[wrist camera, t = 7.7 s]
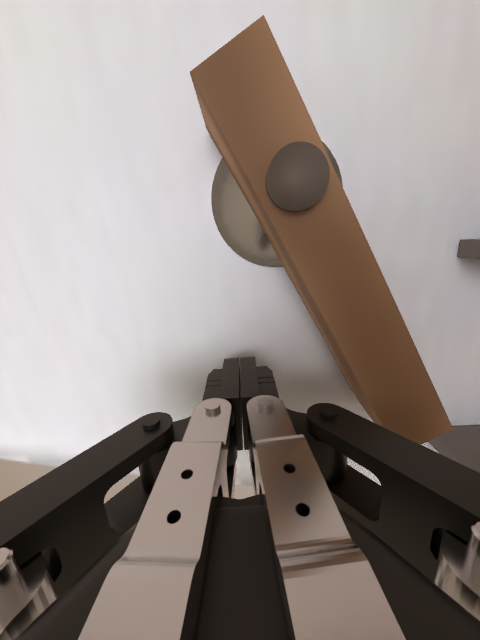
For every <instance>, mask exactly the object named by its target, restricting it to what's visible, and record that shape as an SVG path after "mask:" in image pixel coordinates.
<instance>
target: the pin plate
mask: <svg viewBox="0 0 480 640" xmlns="http://www.w3.org/2000/svg"><path fill="white" fill-rule="evenodd" d="M321 142H322V141H321ZM322 144H323V146H324V148H325V150H326V152H327V155H328V157H329V159H330V161H331V163H332V166H333V168H334V170H335V172H336V174H337V176H338V179H339V181H340V183H341V185H342V178H341V174H340V170H339V167H338V165H337V162H336V160H335V158H334V156H333V155H332V153H331V151H330V150H329V149H328V147H327V146H326V145H325V144H324V143H323V142H322ZM342 187H343V186H342ZM212 210H213V215H214V219H215V222H216V225H217V227H218V230H219V232H220V233H221V235H222V237H223V239H224V240H225V241H226V243H227V244H228V245H229V246H230V247H231V248H232V249H233V250H234V251H235V252H236V253H237V254H239V255H240V256H241V257H243V258H245V259H246V260H248V261H251V262H253V263H256V264H259V265H263V266H272V267H278V266H283V265H282V263H281V261H280V259H279V258H278V256H277V254H276V252H275V250H274V249H273V247H272V245H271V243H270V241H269V240H268V238H267V236H266V234H265V232H264V231H263V229H262V227H261V225H260V223H259V222H258V220H257V218H256V216H255V214H254V213H253V211H252V209H251V207H250V206H249V204H248V202H247V200H246V198H245V197H244V195H243V193H242V191H241V189H240V188H239V186H238V184H237V182H236V180H235V179H234V177H233V175H232V173H231V171H230V170H229V168H228V166H227V164H226V162H225V161H224V159H223V158H222V160H221V162H220V164H219V166H218V168H217V171H216V174H215V177H214V181H213V185H212Z"/></svg>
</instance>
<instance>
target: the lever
mask: <svg viewBox="0 0 480 640" xmlns="http://www.w3.org/2000/svg"><path fill="white" fill-rule="evenodd" d="M190 74H191V78H192V81H193V84H194V88H195V91H196V95H197V98H198V101H199V105H200V108H201V111H202V115H203V118H204V122H205V125H206V128H207V130H208V132H209V134H210V136H211V137H212V139H213V141H214V143H215V145H216V146H217V148H218V150H219V152H220V154H221V155H222V157H223V159H224V161H225V162H226V164H227V166H228V168H229V170H230V171H231V173H232V175H233V177H234V179H235V180H236V182H237V184H238V186H239V188H240V189H241V191H242V193H243V195H244V197H245V198H246V200H247V202H248V204H249V206H250V207H251V209H252V211H253V213H254V214H255V216H256V218H257V220H258V222H259V223H260V225H261V227H262V229H263V231H264V232H265V234H266V236H267V238H268V240H269V241H270V243H271V245H272V247H273V249H274V250H275V252H276V254H277V256H278V258H279V259H280V261H281V263H282V265H283V266H284V268H285V270H286V272H287V274H288V275H289V277H290V279H291V281H292V283H293V284H294V286H295V288H296V290H297V292H298V293H299V295H300V297H301V299H302V301H303V302H304V304H305V306H306V308H307V310H308V311H309V313H310V315H311V317H312V319H313V320H314V322H315V324H316V326H317V327H318V329H319V331H320V333H321V335H322V336H323V338H324V340H325V342H326V344H327V345H328V347H329V349H330V351H331V353H332V354H333V356H334V358H335V360H336V362H337V363H338V365H339V367H340V369H341V371H342V372H343V374H344V376H345V378H346V379H347V381H348V383H349V385H350V387H351V388H352V390H353V392H354V394H355V396H356V397H357V399H358V401H359V402H360V404H361V405H362V406H363V408H364V409H365V410H366V412H367V413H368V414H369V416H370V417H371V418H372V420H373V421H374V423H375V424H377V425H380V426H382V427H384V428H386V429H388V430H390V431H392V432H394V433H397V434H399V435H401V436H403V437H405V438H407V439H409V440H411V441H413V442H416V443H418V444H420V445H421V444H423V443H425V442H427V441H429V440H432V439H434V438H436V437H438V436H440V435H443V434H445V433H447V432H449V431H451V430H453V428H452V425H451V423H450V421H449V419H448V417H447V414H446V412H445V410H444V408H443V406H442V404H441V401H440V399H439V397H438V395H437V393H436V390H435V388H434V386H433V384H432V382H431V380H430V377H429V375H428V373H427V371H426V369H425V366H424V364H423V362H422V360H421V358H420V355H419V353H418V351H417V349H416V347H415V345H414V342H413V340H412V338H411V336H410V334H409V331H408V329H407V327H406V325H405V323H404V321H403V318H402V316H401V314H400V312H399V310H398V307H397V305H396V303H395V301H394V299H393V297H392V294H391V292H390V290H389V288H388V286H387V283H386V281H385V279H384V277H383V275H382V273H381V270H380V268H379V266H378V264H377V262H376V259H375V257H374V255H373V253H372V251H371V249H370V246H369V244H368V242H367V240H366V238H365V235H364V233H363V231H362V229H361V227H360V224H359V222H358V220H357V218H356V216H355V214H354V211H353V209H352V207H351V205H350V203H349V200H348V198H347V196H346V194H345V192H344V190H343V187H342V185H341V183H340V181H339V179H338V176H337V174H336V172H335V170H334V168H333V166H332V163H331V161H330V159H329V157H328V155H327V152H326V150H325V148H324V146H323V144H322V142H321V139H320V137H319V135H318V133H317V131H316V128H315V126H314V124H313V122H312V120H311V117H310V115H309V113H308V111H307V109H306V107H305V104H304V102H303V100H302V98H301V96H300V93H299V91H298V89H297V87H296V85H295V83H294V80H293V78H292V76H291V74H290V72H289V69H288V67H287V65H286V63H285V61H284V59H283V56H282V54H281V52H280V50H279V48H278V45H277V43H276V41H275V39H274V37H273V35H272V32H271V30H270V28H269V26H268V24H267V21H266V19H265V17H264V15H263V16H262V17H260V18H259V19H258V20H256V21H255V22H254V23H253V24H251V25H250V26H249V27H247V28H246V29H245V30H244V31H242V32H241V33H240V34H238V35H237V36H236V37H234V38H233V39H232V40H231V41H229V42H228V43H227V44H225V45H224V46H223V47H222V48H220V49H219V50H218V51H216V52H215V53H214V54H212V55H211V56H210V57H209V58H207V59H206V60H205V61H203V62H202V63H201V64H200V65H198V66H197V67H196V68H194V69H193V70H192V71H190Z"/></svg>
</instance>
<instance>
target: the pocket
mask: <svg viewBox="0 0 480 640" xmlns="http://www.w3.org/2000/svg"><path fill="white" fill-rule="evenodd" d="M457 257H468V258H480V239H466V240H460V245H459V251H458V256H457ZM452 428H453V430H451V431H449V432H447V433H445V434H443V435H440V436H438V437H436V438H434V439H432V440H429V441H428V442H429V443H430V444H431V445H432V446H433V447H434V448H435V449H436V450H437V451H438V452H439V453H440V454H441V455H443V456H445V457H447V458H449V459H451V460H454V461H456V462H458V463H460V464H462V465H464V466H466V467H468V468H470V469H473V470H475V471H477V472H479V473H480V425H474V426H452Z"/></svg>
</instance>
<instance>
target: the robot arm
mask: <svg viewBox="0 0 480 640" xmlns="http://www.w3.org/2000/svg"><path fill="white" fill-rule="evenodd" d="M240 379H241V381H240ZM242 421H243V435H244V449H245V450H249V453H250V468H251V475H252V481H253V488H254V494H255V496H252V497H248V498H245V499H233V498H234V487H235V478H236V460H237V450H243V436H242ZM347 457H348V458H350V459H351V460H353V461H355V462H356V463H358V464H359V465H361V466H363V467H364V468H366V469H368V470H369V471H371V472H372V473H373V474H374V475H375V476H376V477H377V478H378V479H379V481H380V483H381V486H380V485H379V484H377V483H375V482H374V481H372V480H371V479H369V478H368V477H366V476H364V475H363V474H361V473H360V472H358V471H357V470H355V469H354V468H352V467H350V466H349V465H347ZM138 466H139V471H140V476H139V477H138V478H137V479H135V480H134V481H133V482H132V483H130V484H129V485H128V486H127V487H125V488H124V489H123V490H121V491H120V492H119V493H118V494H116V495H115V496H114V497H112V498H111V499H110V500H109V501H107V502H106V503H105V504H104V497H105V495H106V493H107V491H108V490H109V489H110V488H111V487H112V486H113V485H114V484H115V483H116V482H118V481H119V480H120V479H122V478H123V477H125V476H126V475H127V474H129V473H130V472H131V471H133V470H134V469H135V468H137V467H138ZM0 640H480V473H479V472H477V471H475V470H473V469H470V468H468V467H466V466H464V465H462V464H460V463H458V462H456V461H454V460H451V459H449V458H447V457H445V456H443V455H441V454H439V453H437V452H435V451H432V450H430V449H428V448H426V447H424V446H422V445H420V444H418V443H416V442H413V441H411V440H409V439H407V438H405V437H403V436H401V435H399V434H397V433H394V432H392V431H390V430H388V429H386V428H384V427H382V426H380V425H377V424H375V423H373V422H371V421H369V420H367V419H365V418H363V417H361V416H358V415H356V414H354V413H352V412H350V411H348V410H346V409H344V408H342V407H339V406H337V405H334V404H330V403H319V404H315V405H312V406H311V407H310V408H309V409H308V411H307V414H305V413H299V412H294V411H291V410H289V409H287V408H285V405H284V403H283V402H282V400H280V399H279V396H278V392H277V388H276V384H275V381H274V378H273V373H272V371H271V370H270V369H269V368H268V367H267V366H260V367H256V362H255V357H246V358H240V366H239V358H230V359H224V364H223V369H214V370H213V371H212V372H211V373H210V374H209V375H208V378H207V383H206V387H205V392H204V396H203V401H202V402H200V403H199V404H198V405H197V406H196V407H195V409H194V411H193V414H192V416H191V417H188V418H186V419H183V420H179V421H175V422H173V421H172V417H171V416H170V415H169V414H167V413H162V412H156V413H151V414H147V415H145V416H143V417H141V418H139V419H137V420H136V421H134V422H132V423H131V424H129V425H127V426H126V427H124V428H122V429H121V430H119V431H117V432H116V433H114V434H112V435H111V436H109V437H107V438H106V439H104V440H102V441H101V442H99V443H97V444H96V445H94V446H92V447H91V448H89V449H87V450H86V451H84V452H82V453H81V454H79V455H77V456H76V457H74V458H72V459H71V460H69V461H67V462H66V463H64V464H62V465H61V466H59V467H57V468H56V469H54V470H52V471H51V472H49V473H47V474H46V475H44V476H42V477H41V478H39V479H37V480H36V481H34V482H33V483H31V484H29V485H27V486H26V487H24V488H22V489H21V490H19V491H17V492H16V493H14V494H13V495H11V496H9V497H7V498H6V499H4V500H2V501H1V502H0Z"/></svg>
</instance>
